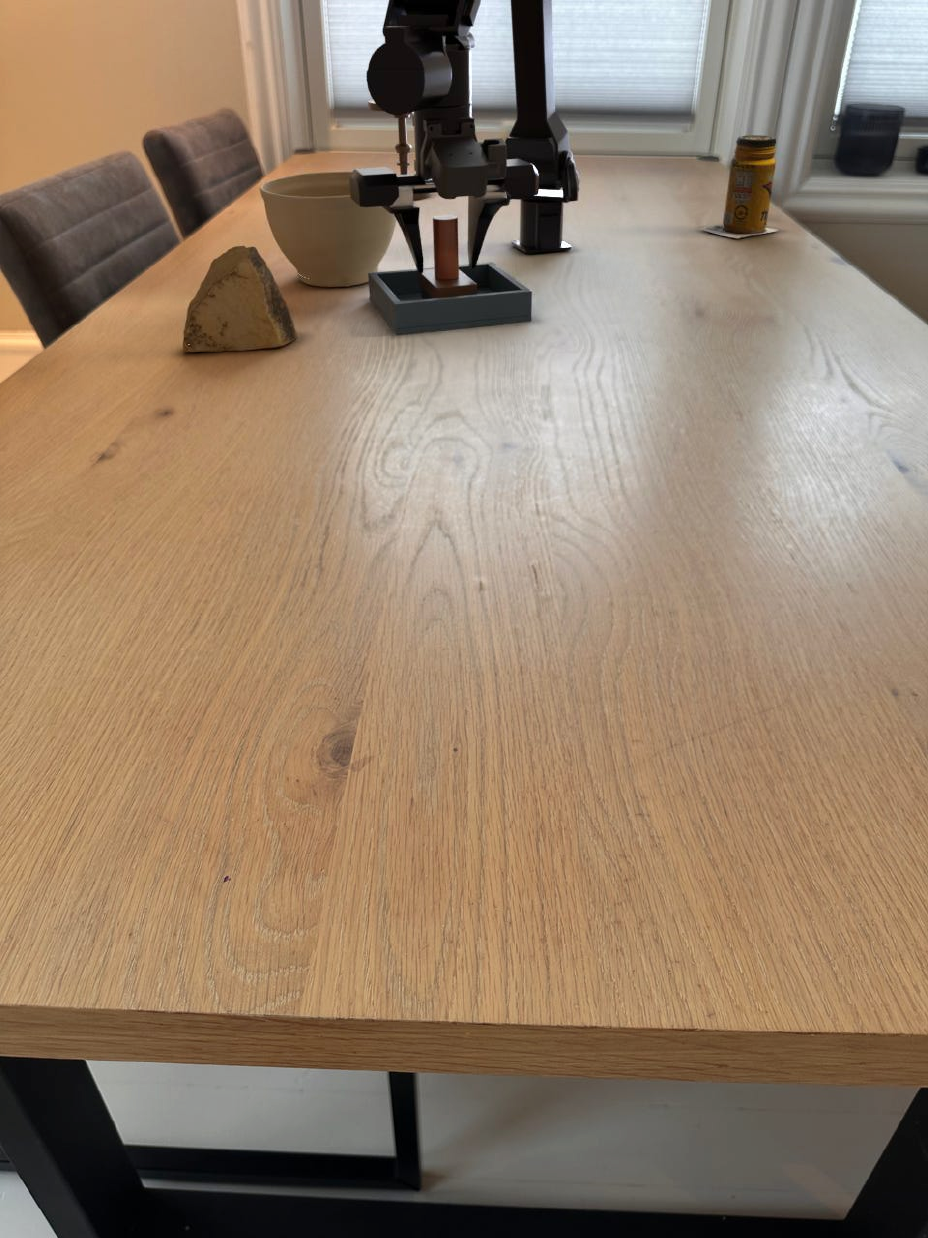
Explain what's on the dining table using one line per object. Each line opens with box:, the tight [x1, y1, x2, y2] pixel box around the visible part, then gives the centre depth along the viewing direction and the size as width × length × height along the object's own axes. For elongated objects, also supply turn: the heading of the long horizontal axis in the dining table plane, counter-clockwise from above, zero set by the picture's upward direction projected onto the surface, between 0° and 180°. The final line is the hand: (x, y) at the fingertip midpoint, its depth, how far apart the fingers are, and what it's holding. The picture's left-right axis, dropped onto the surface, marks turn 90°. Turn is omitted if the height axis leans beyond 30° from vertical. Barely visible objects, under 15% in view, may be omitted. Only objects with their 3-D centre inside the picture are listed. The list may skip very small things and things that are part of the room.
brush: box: [418, 214, 477, 300], centre depth 100 cm, size 8×4×9 cm, turn 16°
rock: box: [182, 245, 299, 353], centre depth 93 cm, size 11×9×10 cm
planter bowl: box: [259, 171, 397, 288], centre depth 113 cm, size 16×16×11 cm
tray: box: [368, 261, 533, 336], centre depth 102 cm, size 14×15×3 cm
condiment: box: [699, 134, 779, 239], centre depth 131 cm, size 7×8×12 cm
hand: (446, 269), depth 101 cm, fingers open, 5 cm apart
